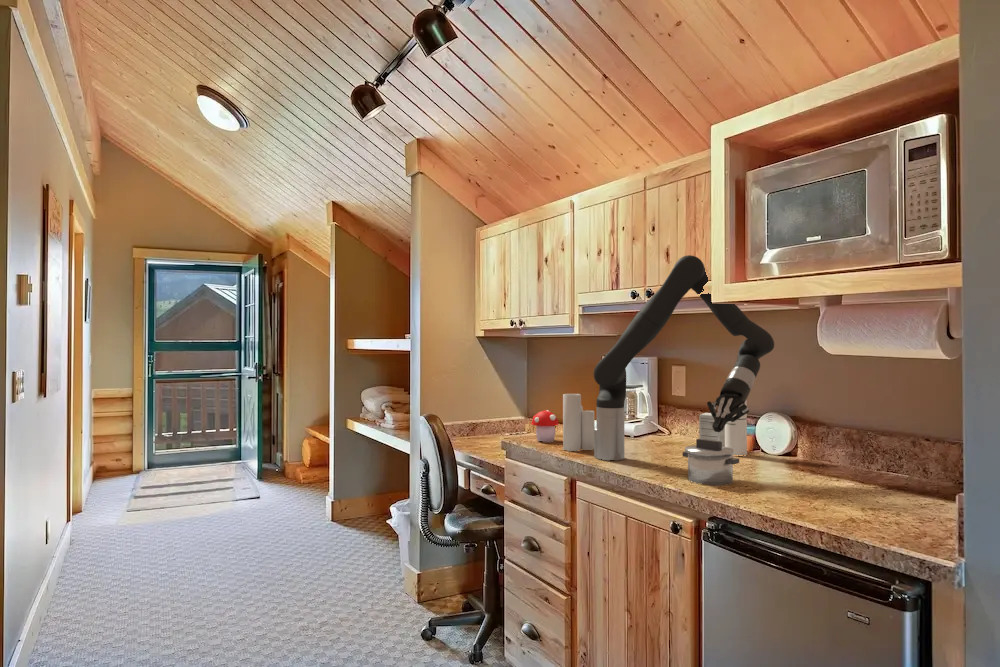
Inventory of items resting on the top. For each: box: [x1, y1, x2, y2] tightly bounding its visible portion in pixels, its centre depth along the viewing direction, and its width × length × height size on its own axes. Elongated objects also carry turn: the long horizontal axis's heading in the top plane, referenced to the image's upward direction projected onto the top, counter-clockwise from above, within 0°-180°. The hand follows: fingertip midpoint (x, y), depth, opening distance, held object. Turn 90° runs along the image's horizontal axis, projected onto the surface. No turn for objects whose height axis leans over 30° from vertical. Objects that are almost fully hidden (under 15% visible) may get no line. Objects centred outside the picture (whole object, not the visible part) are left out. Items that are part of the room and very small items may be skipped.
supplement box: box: [698, 412, 725, 447], centre depth 235 cm, size 7×7×13 cm
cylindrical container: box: [725, 398, 748, 456], centre depth 223 cm, size 7×7×25 cm
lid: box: [684, 438, 733, 457], centre depth 182 cm, size 13×13×3 cm
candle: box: [562, 393, 596, 452], centre depth 234 cm, size 11×7×20 cm, turn 107°
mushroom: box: [530, 409, 559, 443], centre depth 253 cm, size 11×11×12 cm
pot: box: [682, 451, 740, 486], centre depth 183 cm, size 16×14×8 cm
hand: (716, 430), depth 185 cm, fingers closed
